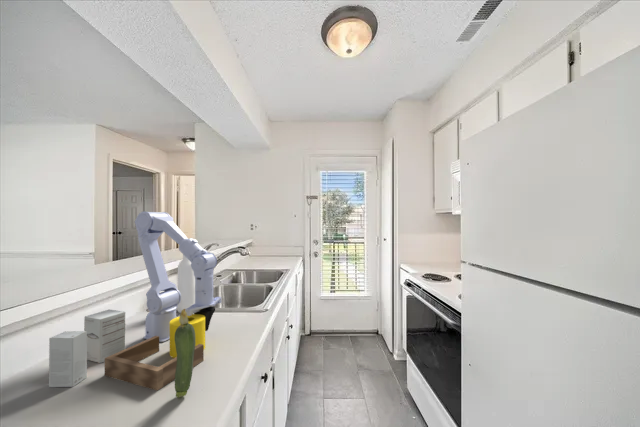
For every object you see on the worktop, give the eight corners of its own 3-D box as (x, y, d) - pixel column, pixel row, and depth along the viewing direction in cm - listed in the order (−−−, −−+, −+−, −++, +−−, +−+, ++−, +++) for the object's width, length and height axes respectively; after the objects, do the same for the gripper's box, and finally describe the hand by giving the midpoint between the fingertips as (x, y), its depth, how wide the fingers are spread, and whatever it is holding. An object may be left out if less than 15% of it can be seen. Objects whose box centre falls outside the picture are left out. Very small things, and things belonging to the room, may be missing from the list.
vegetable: (179, 389, 64) (179, 304, 65) (198, 388, 64) (198, 304, 65) (170, 401, 60) (171, 310, 60) (190, 400, 60) (191, 310, 61)
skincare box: (87, 377, 70) (88, 330, 70) (72, 387, 65) (72, 337, 66) (64, 377, 70) (64, 330, 70) (47, 387, 65) (48, 338, 66)
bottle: (174, 310, 121) (174, 244, 122) (192, 306, 127) (192, 243, 128) (181, 314, 116) (182, 245, 117) (199, 309, 122) (199, 243, 123)
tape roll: (174, 345, 87) (174, 315, 88) (207, 341, 90) (207, 312, 90) (165, 360, 78) (165, 327, 78) (202, 355, 80) (202, 323, 80)
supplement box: (82, 359, 79) (83, 316, 79) (109, 348, 86) (110, 308, 86) (99, 364, 76) (99, 319, 76) (126, 352, 83) (126, 310, 83)
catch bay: (104, 375, 70) (104, 358, 70) (155, 350, 84) (155, 335, 84) (157, 390, 64) (157, 371, 64) (203, 360, 77) (203, 344, 77)
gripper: (197, 296, 82) (197, 341, 82) (228, 285, 96) (228, 323, 96) (179, 294, 85) (179, 338, 85) (212, 284, 99) (212, 321, 98)
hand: (204, 330), depth 90 cm, fingers closed
